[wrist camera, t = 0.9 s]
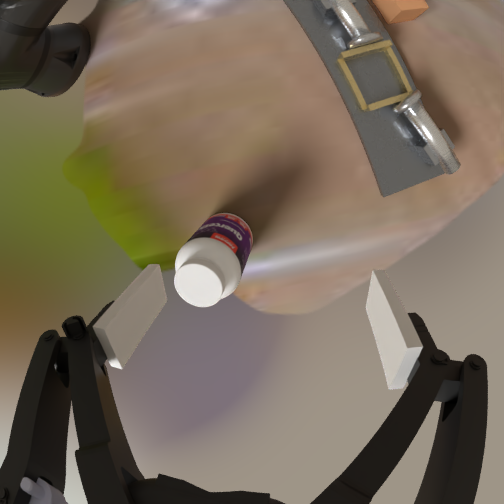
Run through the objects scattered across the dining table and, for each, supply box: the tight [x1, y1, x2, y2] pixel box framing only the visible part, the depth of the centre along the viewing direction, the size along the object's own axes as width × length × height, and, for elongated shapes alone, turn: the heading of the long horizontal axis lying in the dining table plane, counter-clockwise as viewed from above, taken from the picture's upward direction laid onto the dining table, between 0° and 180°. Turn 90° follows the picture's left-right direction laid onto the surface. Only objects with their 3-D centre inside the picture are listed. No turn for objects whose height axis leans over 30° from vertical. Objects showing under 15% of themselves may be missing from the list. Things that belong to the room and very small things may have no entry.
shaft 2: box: [391, 89, 460, 174], centre depth 28 cm, size 11×5×6 cm, turn 46°
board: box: [283, 0, 445, 197], centre depth 27 cm, size 32×11×4 cm, turn 26°
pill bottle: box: [174, 213, 253, 307], centre depth 36 cm, size 8×8×14 cm
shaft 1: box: [313, 0, 383, 50], centre depth 22 cm, size 11×5×6 cm, turn 27°
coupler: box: [372, 0, 429, 24], centre depth 21 cm, size 5×5×6 cm
